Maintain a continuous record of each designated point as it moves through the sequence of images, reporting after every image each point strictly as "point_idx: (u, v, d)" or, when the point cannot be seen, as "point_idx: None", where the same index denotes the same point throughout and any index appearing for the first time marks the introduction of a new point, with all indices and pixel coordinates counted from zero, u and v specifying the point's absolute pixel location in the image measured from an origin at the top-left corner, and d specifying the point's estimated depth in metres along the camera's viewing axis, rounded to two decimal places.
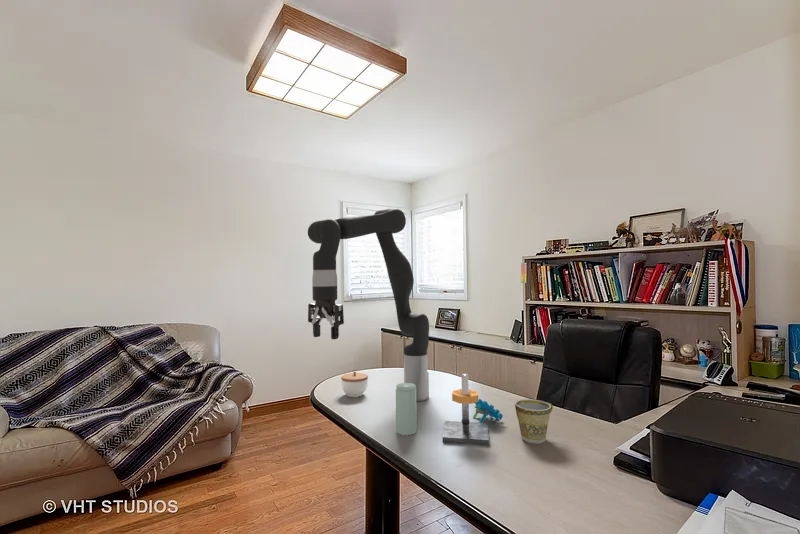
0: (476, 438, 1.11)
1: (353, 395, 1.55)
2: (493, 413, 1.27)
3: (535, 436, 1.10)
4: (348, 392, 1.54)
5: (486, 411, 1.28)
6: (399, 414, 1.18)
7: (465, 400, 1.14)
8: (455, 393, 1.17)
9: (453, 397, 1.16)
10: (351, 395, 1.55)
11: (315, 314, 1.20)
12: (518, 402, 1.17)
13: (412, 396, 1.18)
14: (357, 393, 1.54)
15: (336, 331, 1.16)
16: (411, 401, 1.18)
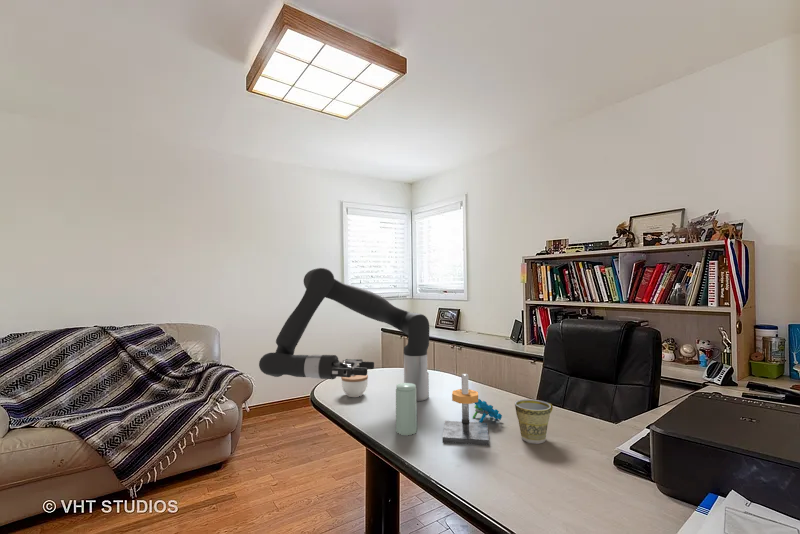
0: (476, 438, 1.11)
1: (353, 395, 1.55)
2: (492, 413, 1.27)
3: (535, 436, 1.10)
4: (348, 392, 1.54)
5: (485, 411, 1.28)
6: (399, 414, 1.18)
7: (465, 400, 1.14)
8: (455, 393, 1.17)
9: (453, 397, 1.16)
10: (351, 395, 1.55)
11: None
12: (518, 402, 1.17)
13: (412, 396, 1.18)
14: (357, 393, 1.54)
15: (358, 372, 1.18)
16: (411, 401, 1.18)
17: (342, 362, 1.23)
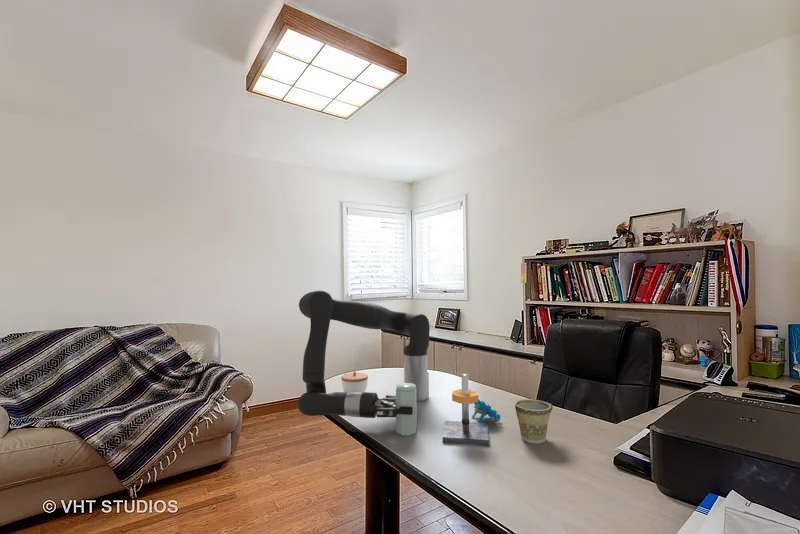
0: (476, 438, 1.11)
1: None
2: (491, 413, 1.27)
3: (535, 436, 1.10)
4: None
5: (484, 411, 1.27)
6: None
7: (465, 400, 1.14)
8: (455, 393, 1.17)
9: (453, 397, 1.16)
10: None
11: None
12: (518, 402, 1.17)
13: (412, 396, 1.18)
14: None
15: (404, 412, 1.16)
16: (411, 401, 1.18)
17: (383, 401, 1.20)
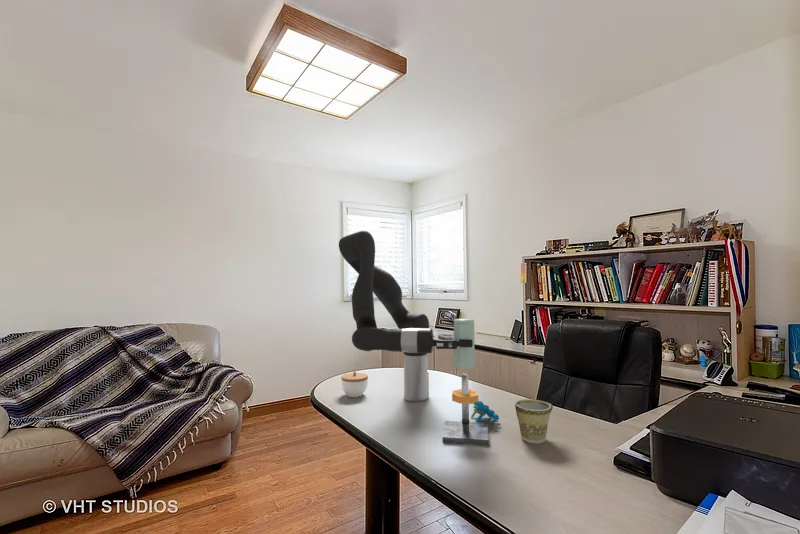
0: (476, 438, 1.11)
1: (353, 395, 1.55)
2: (489, 414, 1.27)
3: (535, 436, 1.10)
4: (348, 392, 1.54)
5: (482, 411, 1.27)
6: None
7: (465, 400, 1.14)
8: (455, 393, 1.17)
9: (453, 397, 1.16)
10: (351, 395, 1.55)
11: None
12: (518, 402, 1.17)
13: (471, 329, 1.16)
14: (357, 393, 1.54)
15: (464, 344, 1.14)
16: (470, 334, 1.15)
17: (441, 335, 1.17)
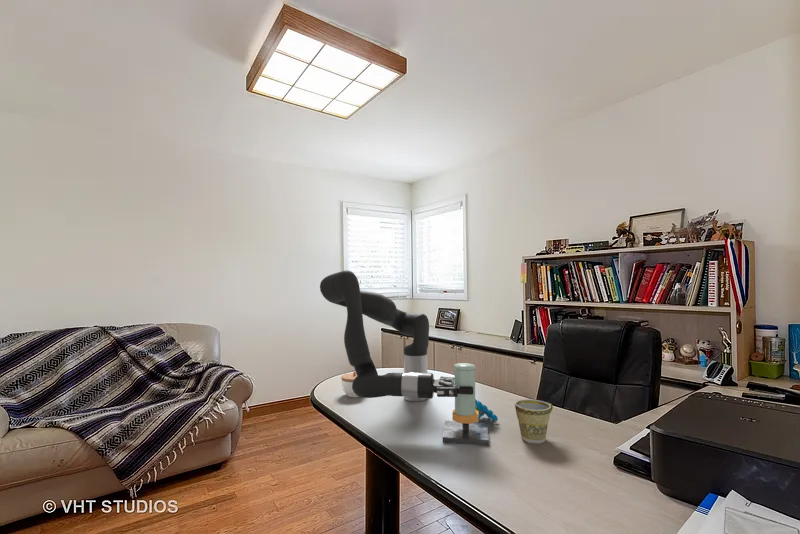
0: (476, 438, 1.11)
1: (353, 395, 1.55)
2: (488, 414, 1.27)
3: (535, 436, 1.10)
4: (348, 392, 1.54)
5: (481, 411, 1.27)
6: None
7: (465, 420, 1.14)
8: None
9: (453, 416, 1.16)
10: (351, 395, 1.55)
11: None
12: (518, 402, 1.17)
13: (472, 376, 1.15)
14: None
15: (465, 391, 1.13)
16: (471, 381, 1.15)
17: (442, 381, 1.17)
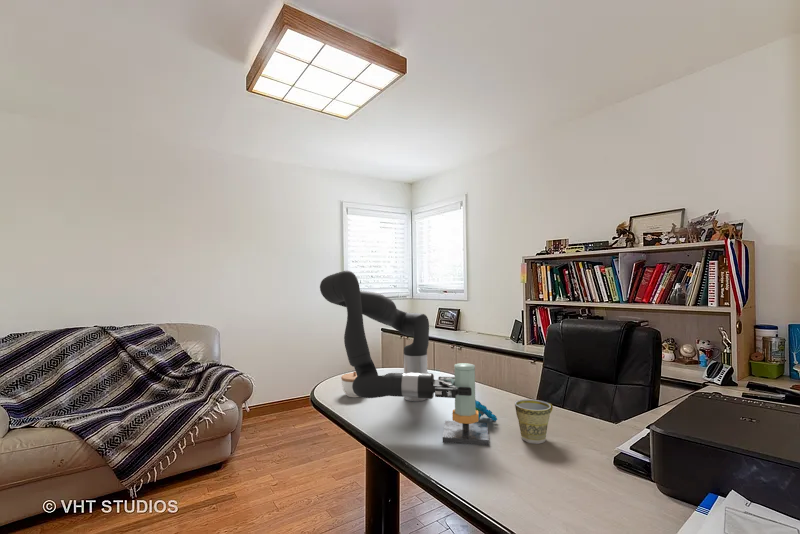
0: (476, 438, 1.11)
1: (353, 395, 1.55)
2: (487, 414, 1.27)
3: (535, 436, 1.10)
4: (348, 392, 1.54)
5: (480, 411, 1.27)
6: None
7: (465, 420, 1.14)
8: None
9: (453, 417, 1.16)
10: (351, 395, 1.55)
11: None
12: (518, 402, 1.17)
13: (472, 376, 1.15)
14: None
15: (463, 392, 1.12)
16: (471, 381, 1.15)
17: (442, 381, 1.17)
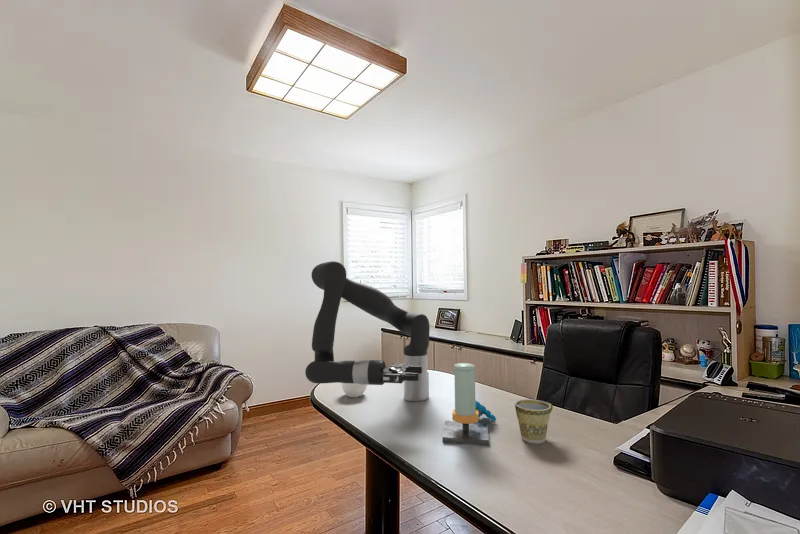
0: (476, 438, 1.11)
1: (353, 395, 1.55)
2: (486, 414, 1.27)
3: (535, 436, 1.10)
4: (348, 392, 1.54)
5: (480, 411, 1.27)
6: (459, 394, 1.15)
7: (465, 420, 1.14)
8: None
9: (453, 417, 1.16)
10: (351, 395, 1.55)
11: None
12: (518, 402, 1.17)
13: (472, 376, 1.15)
14: (357, 393, 1.54)
15: (410, 378, 1.16)
16: (471, 381, 1.15)
17: (391, 367, 1.20)
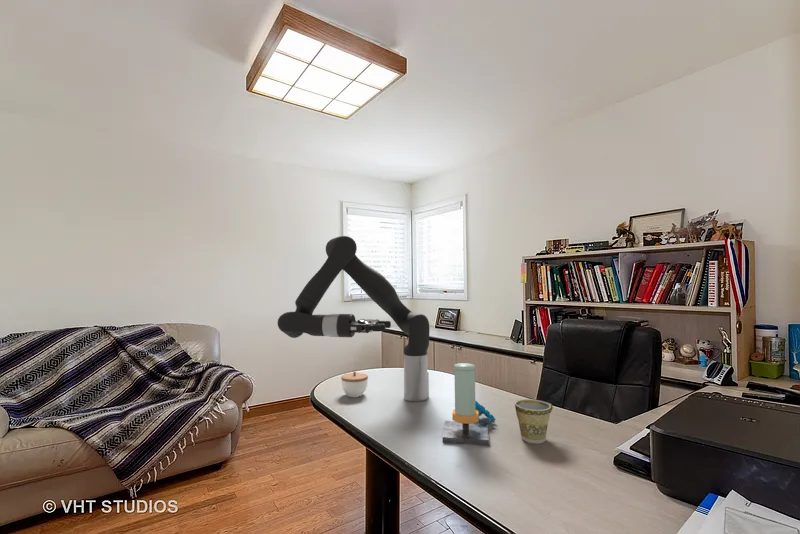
0: (476, 438, 1.11)
1: (353, 395, 1.55)
2: (486, 414, 1.27)
3: (535, 436, 1.10)
4: (348, 392, 1.54)
5: (479, 411, 1.27)
6: (459, 394, 1.15)
7: (465, 420, 1.14)
8: None
9: (453, 417, 1.16)
10: (351, 395, 1.55)
11: None
12: (518, 402, 1.17)
13: (472, 376, 1.15)
14: (357, 393, 1.54)
15: (376, 328, 1.20)
16: (471, 381, 1.15)
17: (360, 320, 1.24)
